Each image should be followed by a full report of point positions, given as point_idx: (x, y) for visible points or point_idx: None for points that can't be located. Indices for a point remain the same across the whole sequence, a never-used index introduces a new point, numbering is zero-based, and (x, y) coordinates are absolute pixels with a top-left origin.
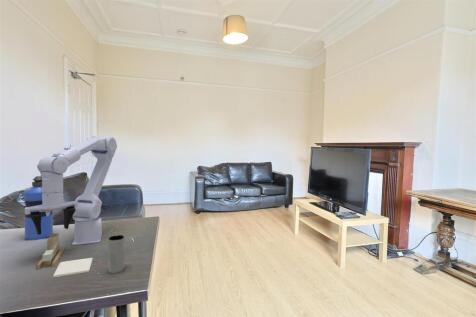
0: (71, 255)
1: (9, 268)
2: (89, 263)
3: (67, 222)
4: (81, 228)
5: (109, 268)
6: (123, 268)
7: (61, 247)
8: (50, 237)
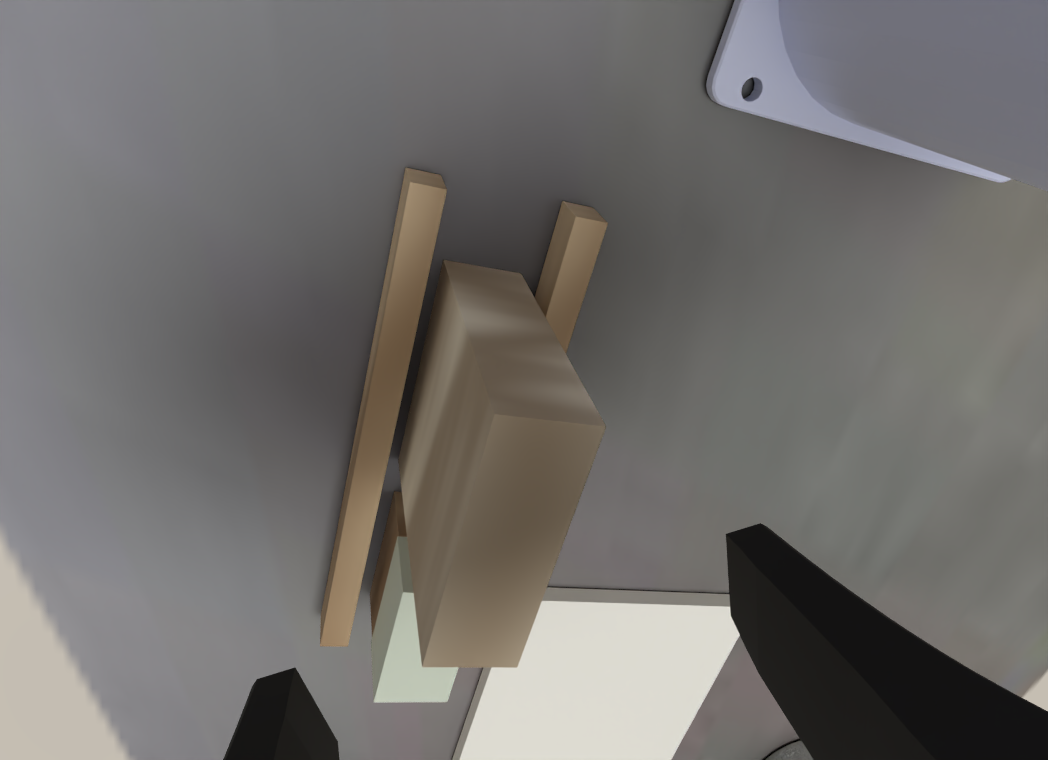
0: (624, 440)
1: (32, 500)
2: (699, 688)
3: (822, 753)
4: (1011, 169)
5: None
6: None
7: (565, 255)
8: (466, 593)
